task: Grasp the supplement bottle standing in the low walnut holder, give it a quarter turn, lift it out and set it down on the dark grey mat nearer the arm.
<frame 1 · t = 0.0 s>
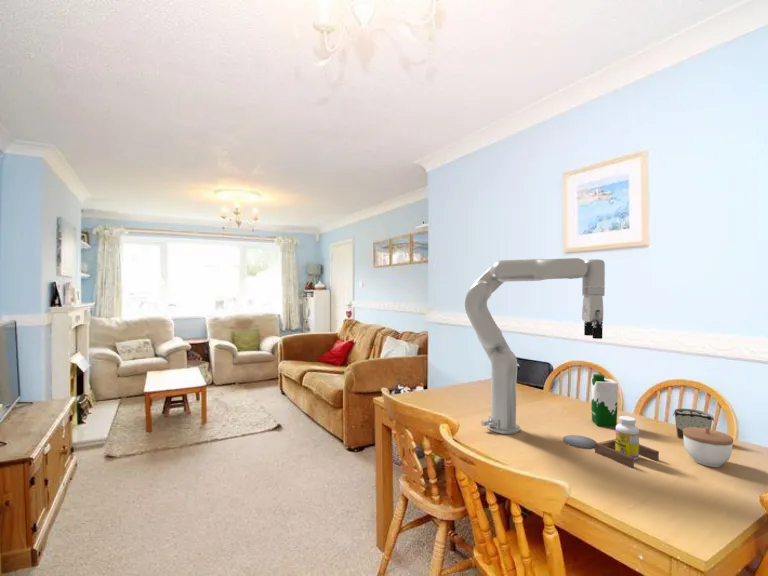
hand: (593, 336, 153), 37 cm above the table, tool pointing down, fingers open, 9 cm apart
lidded bowl: (706, 462, 129), on the table
mat: (579, 442, 145), on the table
holder: (626, 456, 133), on the table
supplement bottle: (626, 457, 133), on the table
milk carton: (604, 424, 165), on the table
food container: (690, 437, 151), on the table
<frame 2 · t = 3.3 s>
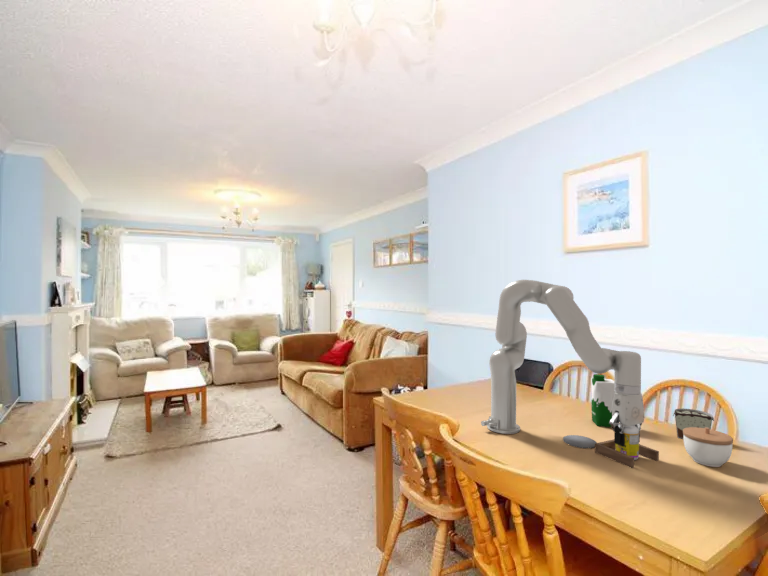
hand: (627, 442, 133), 5 cm above the table, tool pointing down, fingers closed on supplement bottle, 6 cm apart
supplement bottle: (626, 457, 133), on the table, touching gripper
everything else where it was.
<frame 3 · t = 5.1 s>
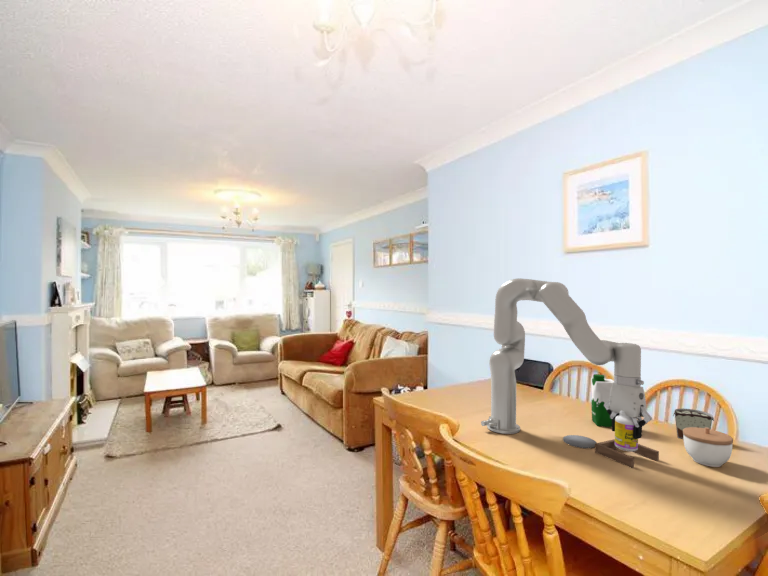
hand: (626, 434, 133), 7 cm above the table, tool pointing down, fingers closed on supplement bottle, 6 cm apart
supplement bottle: (626, 448, 133), point 3 cm above the table, touching gripper
everything else where it was.
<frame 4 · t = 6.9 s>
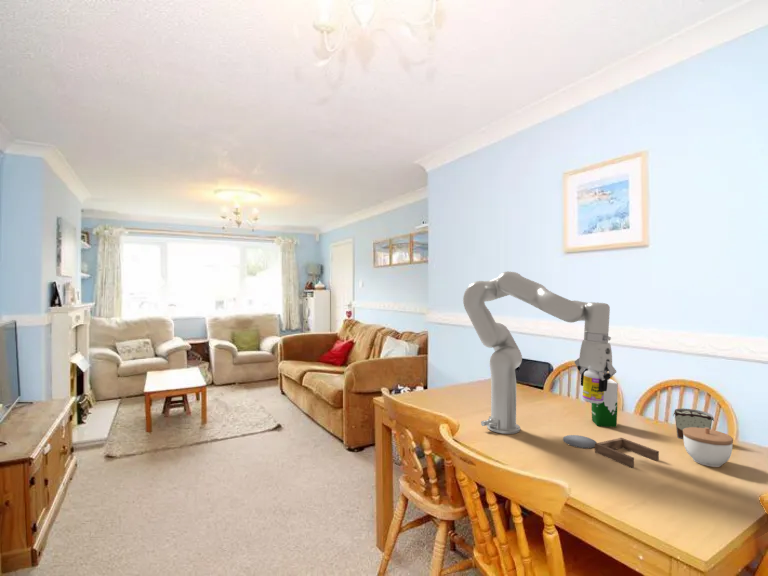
hand: (593, 387, 141), 21 cm above the table, tool pointing down, fingers closed on supplement bottle, 6 cm apart
supplement bottle: (592, 401, 141), point 16 cm above the table, touching gripper
everything else where it was.
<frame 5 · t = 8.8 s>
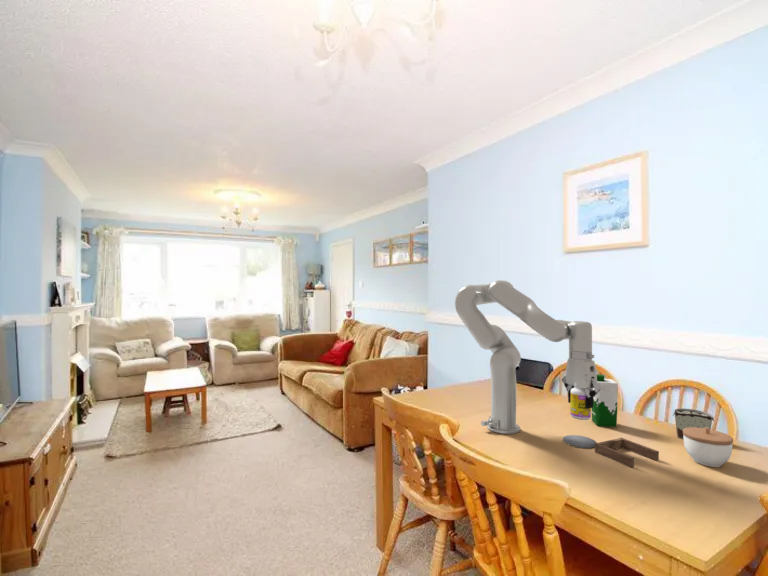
hand: (580, 404, 145), 14 cm above the table, tool pointing down, fingers closed on supplement bottle, 6 cm apart
supplement bottle: (580, 418, 145), point 9 cm above the table, touching gripper
everything else where it was.
when the fingers open (7 cm above the table, at t = 10.6 s): supplement bottle drops 1 cm, resting on mat.
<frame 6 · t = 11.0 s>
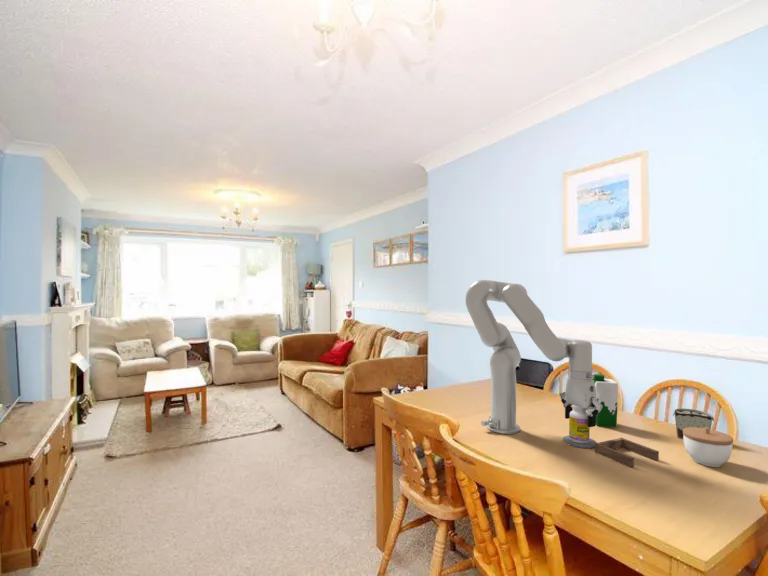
hand: (579, 422, 145), 7 cm above the table, tool pointing down, fingers open, 9 cm apart
supplement bottle: (579, 441, 145), resting on mat
everything else where it was.
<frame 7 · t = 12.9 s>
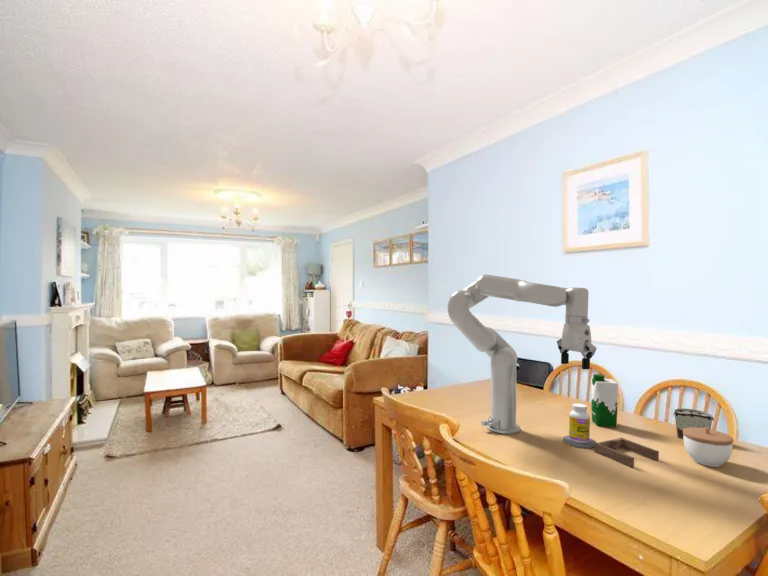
hand: (574, 366, 150), 27 cm above the table, tool pointing down, fingers open, 9 cm apart
nothing on the table moved.
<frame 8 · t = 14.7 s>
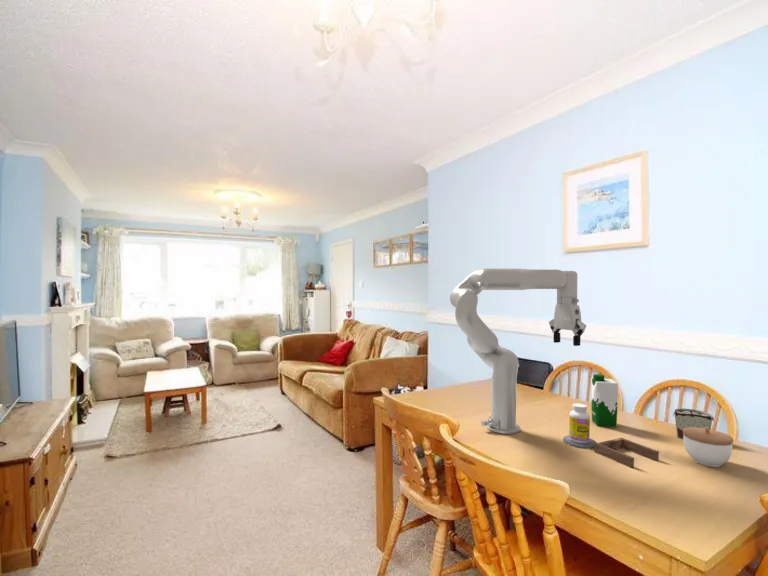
hand: (566, 344, 161), 33 cm above the table, tool pointing down, fingers open, 9 cm apart
nothing on the table moved.
at the end: supplement bottle 0.2 cm from the mat (horizontally); supplement bottle tilted 0°; supplement bottle resting on mat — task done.
